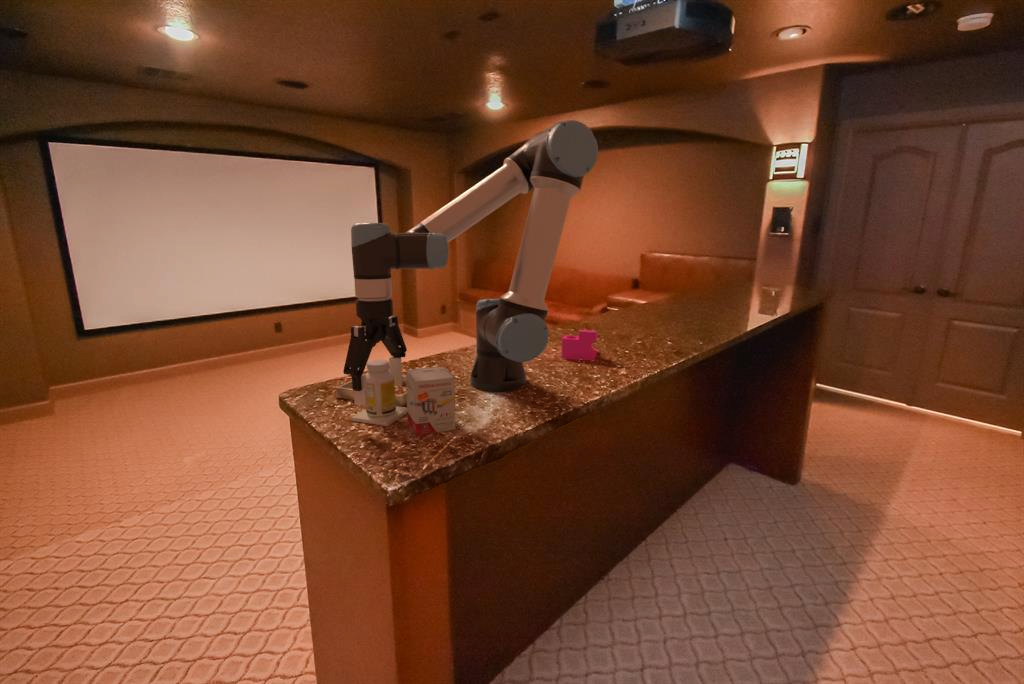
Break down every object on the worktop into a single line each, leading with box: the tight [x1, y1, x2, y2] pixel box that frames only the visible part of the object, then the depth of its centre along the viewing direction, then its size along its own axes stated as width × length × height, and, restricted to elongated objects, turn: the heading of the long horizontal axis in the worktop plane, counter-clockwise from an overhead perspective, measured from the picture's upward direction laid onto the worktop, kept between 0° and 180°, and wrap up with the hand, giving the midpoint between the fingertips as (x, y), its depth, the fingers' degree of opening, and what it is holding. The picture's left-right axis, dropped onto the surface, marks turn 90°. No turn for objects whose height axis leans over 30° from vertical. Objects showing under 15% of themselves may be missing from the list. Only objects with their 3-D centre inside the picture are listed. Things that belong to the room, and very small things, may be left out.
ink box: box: [405, 366, 456, 436], centre depth 100 cm, size 9×9×12 cm
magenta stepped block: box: [561, 329, 598, 361], centre depth 154 cm, size 12×10×10 cm
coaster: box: [350, 406, 407, 427], centre depth 106 cm, size 9×9×1 cm
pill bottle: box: [365, 359, 396, 417], centre depth 104 cm, size 6×6×12 cm
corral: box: [334, 372, 407, 407], centre depth 121 cm, size 19×15×2 cm
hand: (379, 394), depth 105 cm, fingers open, 13 cm apart
